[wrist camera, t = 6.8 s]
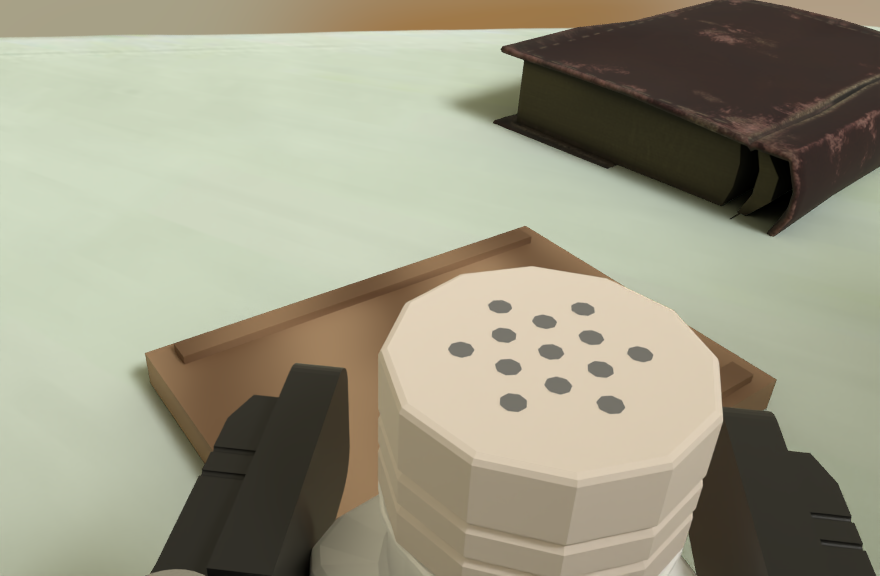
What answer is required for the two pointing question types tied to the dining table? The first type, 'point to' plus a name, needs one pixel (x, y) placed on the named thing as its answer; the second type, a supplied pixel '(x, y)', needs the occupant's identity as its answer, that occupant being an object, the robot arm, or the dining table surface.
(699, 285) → the dining table surface
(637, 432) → the salt shaker
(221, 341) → the walnut board
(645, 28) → the diary
